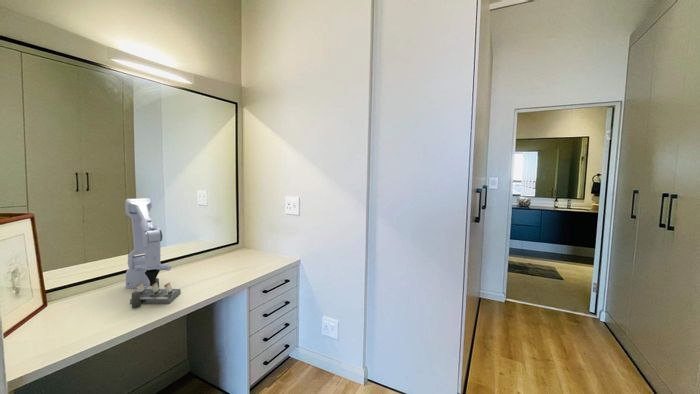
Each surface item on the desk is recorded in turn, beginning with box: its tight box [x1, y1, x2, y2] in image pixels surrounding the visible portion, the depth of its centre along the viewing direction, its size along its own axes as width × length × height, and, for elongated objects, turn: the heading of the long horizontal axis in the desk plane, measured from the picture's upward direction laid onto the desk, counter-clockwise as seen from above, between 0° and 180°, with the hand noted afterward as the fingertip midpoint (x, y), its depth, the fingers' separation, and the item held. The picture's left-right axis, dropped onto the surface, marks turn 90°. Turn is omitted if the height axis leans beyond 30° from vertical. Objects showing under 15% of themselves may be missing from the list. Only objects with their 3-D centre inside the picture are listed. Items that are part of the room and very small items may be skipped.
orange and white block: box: [163, 282, 174, 294], centre depth 132 cm, size 1×3×4 cm, turn 5°
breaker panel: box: [129, 288, 182, 305], centre depth 132 cm, size 16×11×3 cm
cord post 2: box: [155, 277, 160, 288], centre depth 139 cm, size 3×3×6 cm
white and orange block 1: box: [136, 282, 146, 294], centre depth 131 cm, size 1×3×4 cm, turn 5°
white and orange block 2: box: [150, 282, 160, 294], centre depth 132 cm, size 1×3×4 cm, turn 6°
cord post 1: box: [131, 290, 142, 309], centre depth 124 cm, size 3×3×6 cm
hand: (153, 285), depth 131 cm, fingers closed, pressing on white and orange block 2
